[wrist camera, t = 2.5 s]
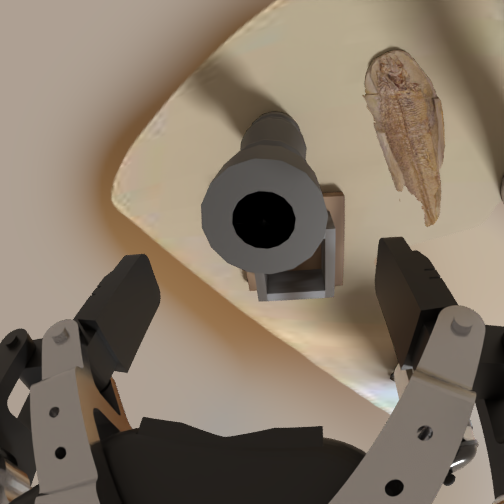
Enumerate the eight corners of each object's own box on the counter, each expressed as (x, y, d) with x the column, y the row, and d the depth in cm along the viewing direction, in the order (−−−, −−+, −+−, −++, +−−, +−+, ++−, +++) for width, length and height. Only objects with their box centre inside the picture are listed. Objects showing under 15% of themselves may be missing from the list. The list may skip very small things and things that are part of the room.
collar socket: (342, 192, 37) (352, 211, 32) (341, 279, 44) (347, 307, 39) (236, 199, 39) (228, 220, 34) (250, 284, 46) (246, 312, 41)
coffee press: (367, 366, 55) (387, 502, 29) (430, 322, 48) (480, 464, 22) (405, 390, 59) (426, 500, 34) (459, 354, 52) (498, 466, 27)
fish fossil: (456, 216, 37) (459, 219, 36) (399, 235, 41) (401, 239, 40) (413, 45, 26) (416, 44, 25) (342, 63, 29) (343, 63, 28)
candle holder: (270, 101, 32) (248, 121, 11) (310, 132, 34) (362, 213, 12) (240, 139, 35) (171, 230, 14) (279, 169, 37) (274, 298, 15)
